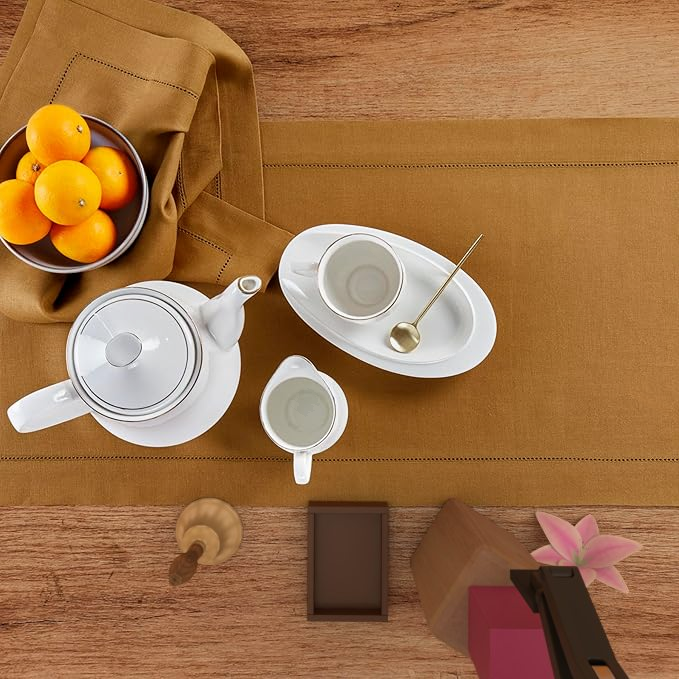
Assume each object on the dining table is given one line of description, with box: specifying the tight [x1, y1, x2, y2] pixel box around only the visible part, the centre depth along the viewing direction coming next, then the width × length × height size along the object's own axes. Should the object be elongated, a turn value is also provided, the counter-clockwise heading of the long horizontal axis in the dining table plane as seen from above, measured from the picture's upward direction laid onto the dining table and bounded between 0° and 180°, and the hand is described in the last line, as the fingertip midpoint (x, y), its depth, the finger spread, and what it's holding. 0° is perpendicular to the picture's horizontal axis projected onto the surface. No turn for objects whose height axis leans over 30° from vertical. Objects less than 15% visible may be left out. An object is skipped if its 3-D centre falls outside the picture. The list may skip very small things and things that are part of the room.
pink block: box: [468, 586, 554, 679], centre depth 55 cm, size 6×6×9 cm
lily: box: [529, 510, 644, 594], centre depth 76 cm, size 12×12×10 cm
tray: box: [306, 500, 390, 623], centre depth 78 cm, size 14×10×3 cm
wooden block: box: [409, 497, 541, 662], centre depth 70 cm, size 10×10×20 cm
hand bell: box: [168, 497, 244, 587], centre depth 72 cm, size 8×8×16 cm
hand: (526, 659), depth 51 cm, fingers open, 13 cm apart
